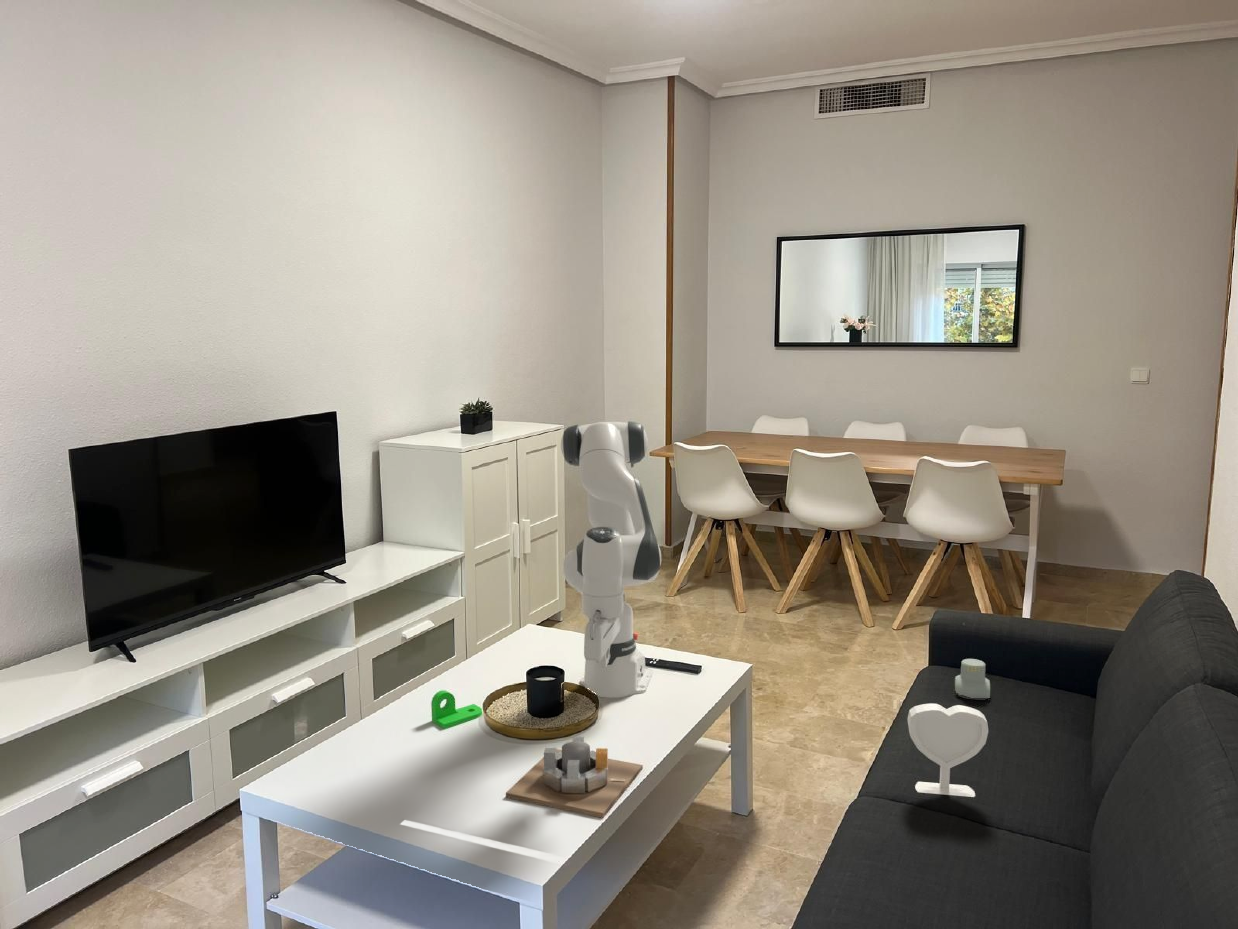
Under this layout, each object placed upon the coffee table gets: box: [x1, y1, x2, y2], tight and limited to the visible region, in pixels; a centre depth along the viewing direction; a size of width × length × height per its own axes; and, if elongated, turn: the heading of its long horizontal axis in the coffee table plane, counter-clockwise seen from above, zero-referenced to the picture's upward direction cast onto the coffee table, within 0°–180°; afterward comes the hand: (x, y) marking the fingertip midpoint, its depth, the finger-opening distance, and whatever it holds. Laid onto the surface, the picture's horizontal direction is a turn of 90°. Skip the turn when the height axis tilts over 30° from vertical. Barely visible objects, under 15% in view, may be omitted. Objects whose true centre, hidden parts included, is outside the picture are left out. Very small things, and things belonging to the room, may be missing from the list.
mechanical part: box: [430, 689, 483, 730], centre depth 229 cm, size 12×6×8 cm, turn 130°
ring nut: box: [543, 736, 609, 793], centre depth 197 cm, size 14×14×6 cm
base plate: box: [505, 741, 644, 819], centre depth 197 cm, size 22×22×8 cm
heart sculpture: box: [906, 703, 989, 798], centre depth 193 cm, size 16×5×18 cm, turn 79°
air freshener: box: [954, 658, 991, 698], centre depth 240 cm, size 11×8×10 cm
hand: (603, 665), depth 199 cm, fingers closed
